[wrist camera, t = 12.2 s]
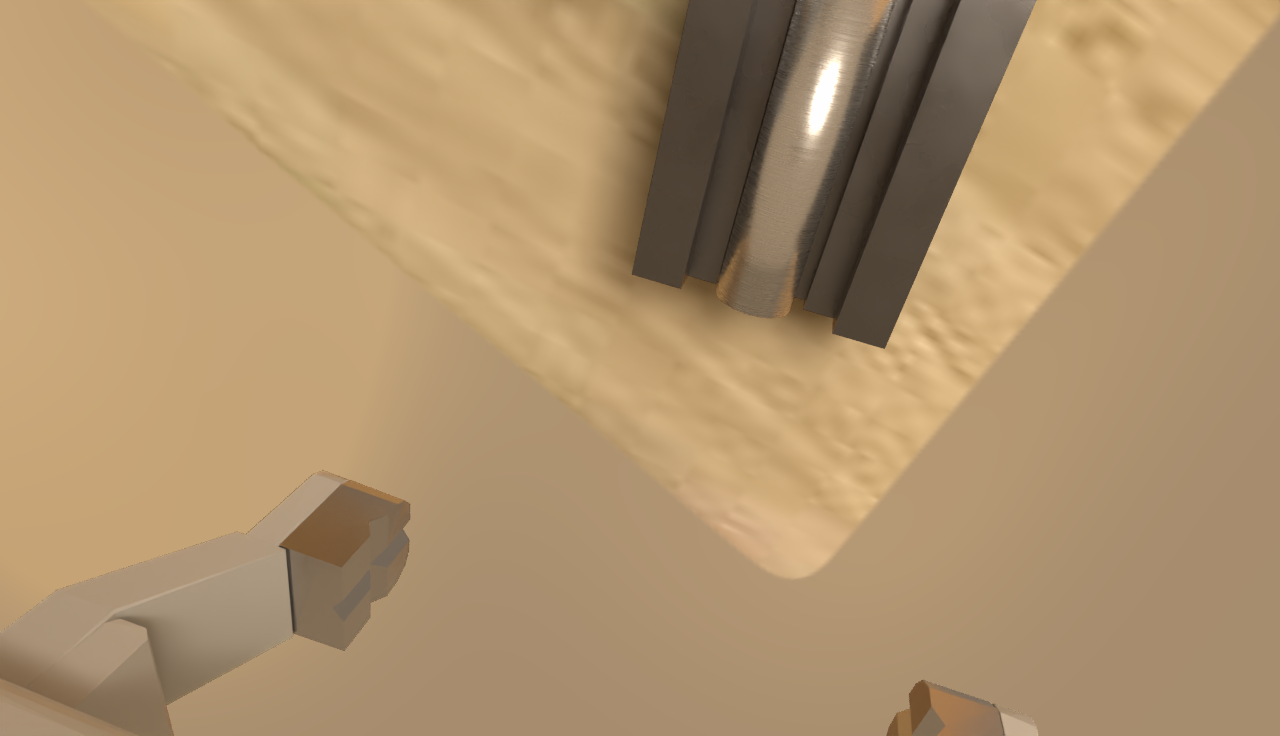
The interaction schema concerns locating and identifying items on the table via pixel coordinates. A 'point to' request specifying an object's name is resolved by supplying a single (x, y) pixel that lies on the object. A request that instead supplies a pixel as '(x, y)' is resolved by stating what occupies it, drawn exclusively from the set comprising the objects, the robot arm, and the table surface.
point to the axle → (800, 150)
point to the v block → (871, 164)
